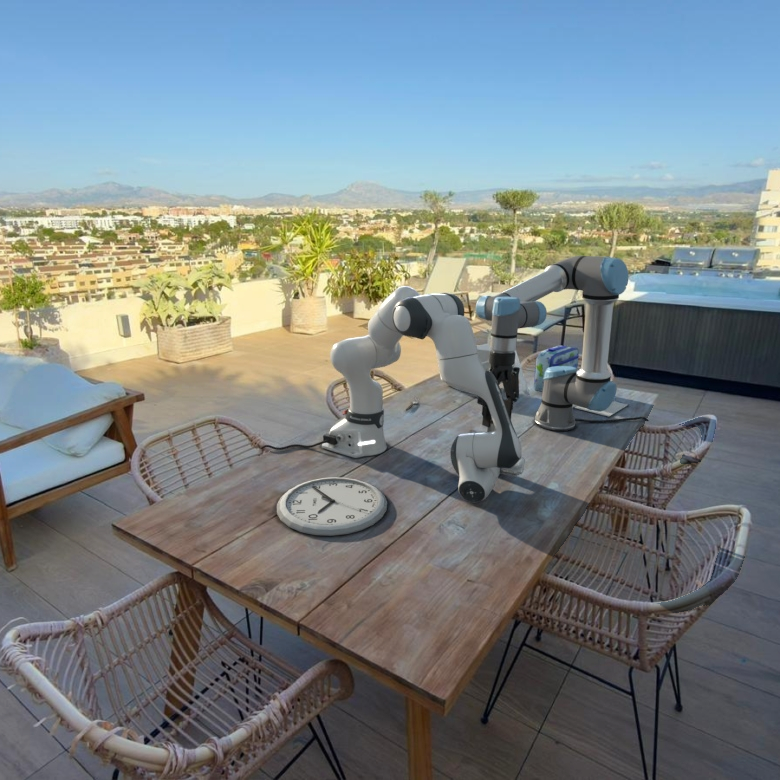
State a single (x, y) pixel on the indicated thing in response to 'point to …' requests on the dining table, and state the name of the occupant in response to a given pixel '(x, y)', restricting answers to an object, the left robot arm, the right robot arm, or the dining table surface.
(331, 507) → the wall clock
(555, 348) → the lunch box
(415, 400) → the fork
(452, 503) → the dining table surface
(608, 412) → the invitation card
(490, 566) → the dining table surface
